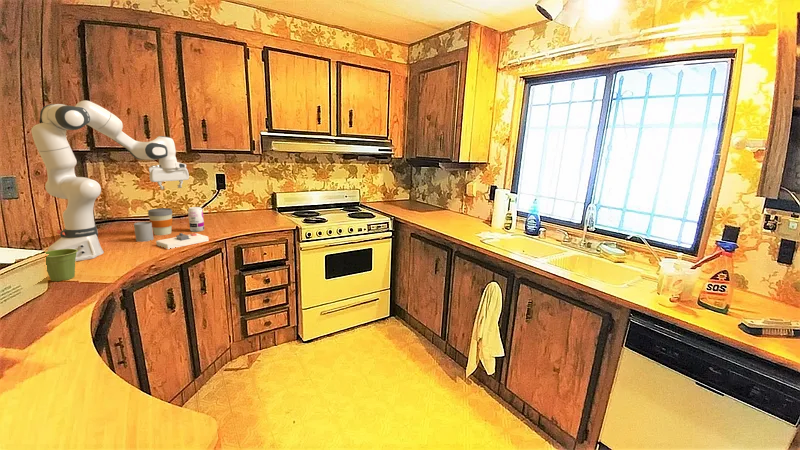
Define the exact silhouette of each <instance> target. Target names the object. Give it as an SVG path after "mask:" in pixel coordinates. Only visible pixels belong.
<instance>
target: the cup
mask: <svg viewBox="0 0 800 450" xmlns="http://www.w3.org/2000/svg"><path fill="white" fill-rule="evenodd" d="M133 227H134V228H133V229H134V234H135V241H136V242H138V243H140V242H141V243H143V242H150V240H151V241H153V240H155V238H154V232H153V228H152V223H151V222H150V221H137V222H134V223H133Z"/></svg>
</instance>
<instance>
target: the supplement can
mask: <svg viewBox="0 0 800 450" xmlns="http://www.w3.org/2000/svg"><path fill="white" fill-rule="evenodd" d="M187 216H188V223H189V230H190V231H191V232H193V233H196V232H203V231H204V230H205V221H204V220H205V219H204V211H203V207H201V206H192V207H188V209H187Z"/></svg>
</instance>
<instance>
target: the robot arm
mask: <svg viewBox="0 0 800 450" xmlns="http://www.w3.org/2000/svg"><path fill="white" fill-rule="evenodd" d="M40 109H41V110H40V111H39V123H38V124H35V125H33V126H32V127H31V129H30V130H31V136H32V139H33V144H34V145H35V147H36V149H37V151H38V154H39V156H40V159H42V162H43V163H44V166H45V170H46V175H47V181H46V182H45V184H44V185H45V187H44V188H45V191H46V193H48V195H50V196H52V197H55V198H57V199H62V200H67V204H66V205H67V206H66V209H65V210H64V211H63V212H62V219H63V225H64V229H63V230H61V229H57V230H56V233H57V234H58V235H60V238H58V239H57V240H56V241H55V242H53V243H52V244H51V245H50V246H48V247H47V251H52V250H59V249H77V250H78V252H77V253H76V259H75V262H79V261H86V260H91V259H96V258H97V257H99V256H101V255H103V254H104V252H105V251H104V250H103V248H102V246H101V243H100V240H99V238H98V237H99V233H98V228H97V225H96V222H95V216H94V207H95V202H96V200H97V198H98V197H100V195H101V193H102V188H101V185H100V183H99V182H98V181H97V180H94V179H92V178H89V177H84V176H76V175H77V174H76V171H75V167H76V165H78V161H77V158H76V156H75V153H74V152H73V150H72V148H71V145H70V143H69V141H68V139H67V135H66V134H67V131H77V130H81V129H82V128H84V127H85V126H88V127H91V128H92V129H93V130H95V131H97V132H99V133H101V134H102V135H105V136H106V137H108V138H110V139H111V140H113V142H116V143H117V144H118V145H120V146H121V147H123V148H125V150H126V151H127V152H128V153H130V155H131V156H132V157H133V158H134V159H136V160H140V161H142V160H151V161H154V160H155V161H156V160H158V164H157V165H154V164H153V165H150V166H149V167H148V173H149V181H150V182H151V183H157V185H158V186H159V188H160V190H165V186H164V185H162V184H163V182H175V181H176V182H177V181H178V182H179V184H177V189H181V188H182V185H183V184H184V181H188V180H189V179H190V174H189V170H188V168H187V164H186V163H182V162H180V161H178V159H177V157H176V153H177V151H176V144H175V142H174V139H173V138H171V137H169V136H165V135H164V136H163V135H159V136H157V137H155V139H153V140H150V141H140V140H139V141H138V140H135V139H133V138H132V137H131V136H129V135H128V134H126V133H125V132H124V131H122V130H123V129H124V124H123V122H122V120H121V119H120V118H119V117H118V116H116V115H115V114H114V113H113V112H111V111H110V110H108V109H106V108H104V107H103V106H101V105H99V104H97V103H95V102H93V101H90V100H86V99H85V100H81V101H78V102H77V103H76V104H75V105H69V104H68V105H67V104H64V103H63V104H62V103H51V104H47V105H45V106H43V107H42V108H40Z"/></svg>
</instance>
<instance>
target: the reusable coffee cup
mask: <svg viewBox="0 0 800 450" xmlns="http://www.w3.org/2000/svg"><path fill="white" fill-rule="evenodd" d="M147 216H148V217H149V220H148V222H151V223H152V230H153V236H166V235H171V234H172V226H173V209H172V208H168V207H167V208H166V207H161V208H159V207H158V208H152V209H149V210H148V211H147Z"/></svg>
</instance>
